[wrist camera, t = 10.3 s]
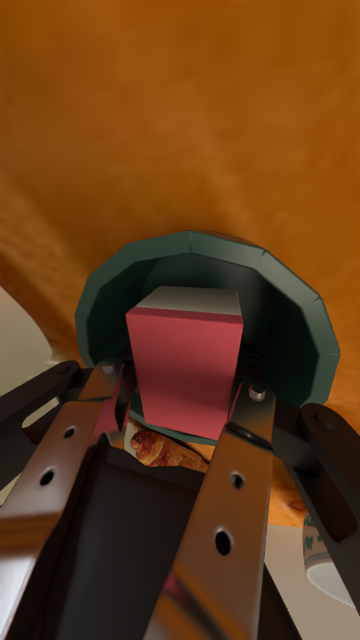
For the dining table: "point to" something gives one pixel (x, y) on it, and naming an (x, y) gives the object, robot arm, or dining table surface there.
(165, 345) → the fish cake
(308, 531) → the chinaware
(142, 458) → the croissant
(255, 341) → the pot
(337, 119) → the dining table surface
